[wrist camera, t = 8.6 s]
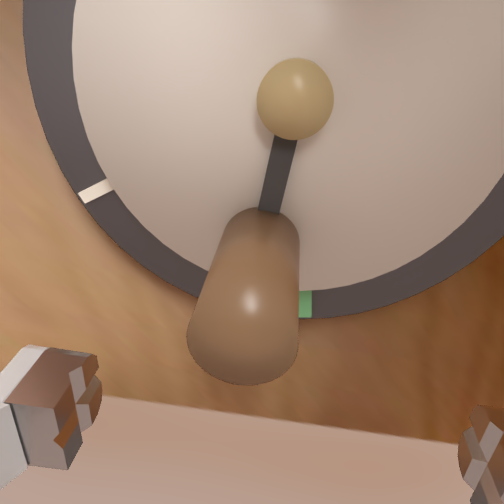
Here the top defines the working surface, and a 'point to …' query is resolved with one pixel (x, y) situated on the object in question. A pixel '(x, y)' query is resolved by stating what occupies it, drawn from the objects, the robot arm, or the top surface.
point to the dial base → (162, 257)
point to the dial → (290, 145)
